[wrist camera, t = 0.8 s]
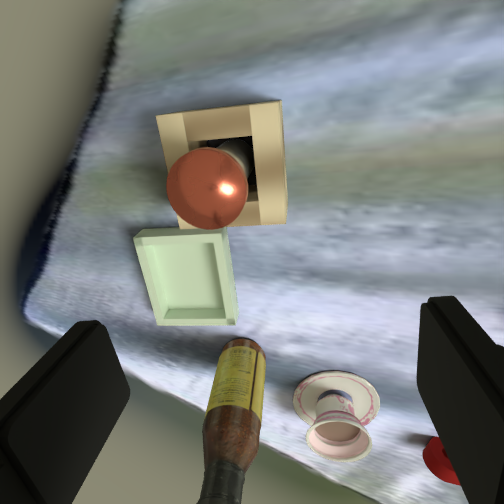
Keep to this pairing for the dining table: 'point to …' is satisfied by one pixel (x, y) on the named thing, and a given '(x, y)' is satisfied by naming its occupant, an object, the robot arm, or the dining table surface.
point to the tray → (188, 275)
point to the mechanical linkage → (439, 461)
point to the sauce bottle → (232, 421)
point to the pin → (211, 184)
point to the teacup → (337, 414)
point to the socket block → (228, 126)
